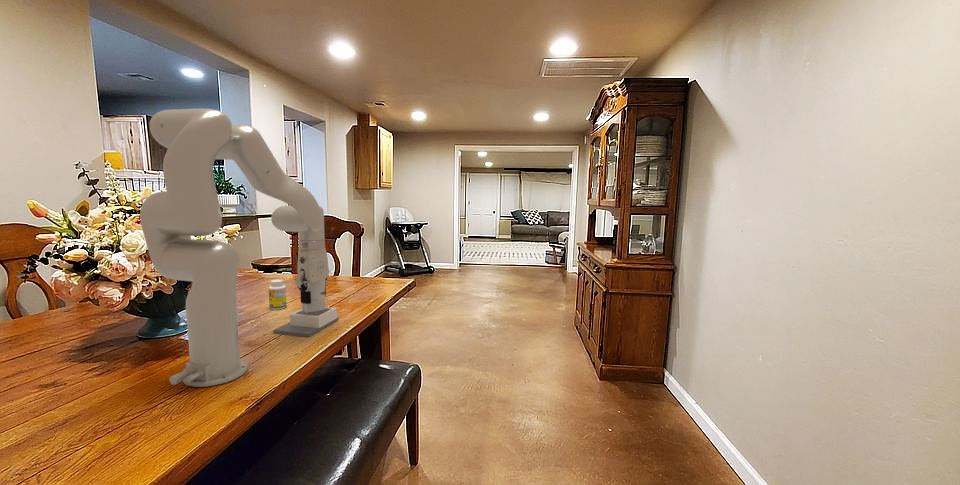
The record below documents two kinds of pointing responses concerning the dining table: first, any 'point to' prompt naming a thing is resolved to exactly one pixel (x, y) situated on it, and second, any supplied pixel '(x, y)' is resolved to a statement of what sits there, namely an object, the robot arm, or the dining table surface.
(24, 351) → the dining table surface
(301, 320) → the socket holder
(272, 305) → the supplement bottle
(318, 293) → the skincare box
